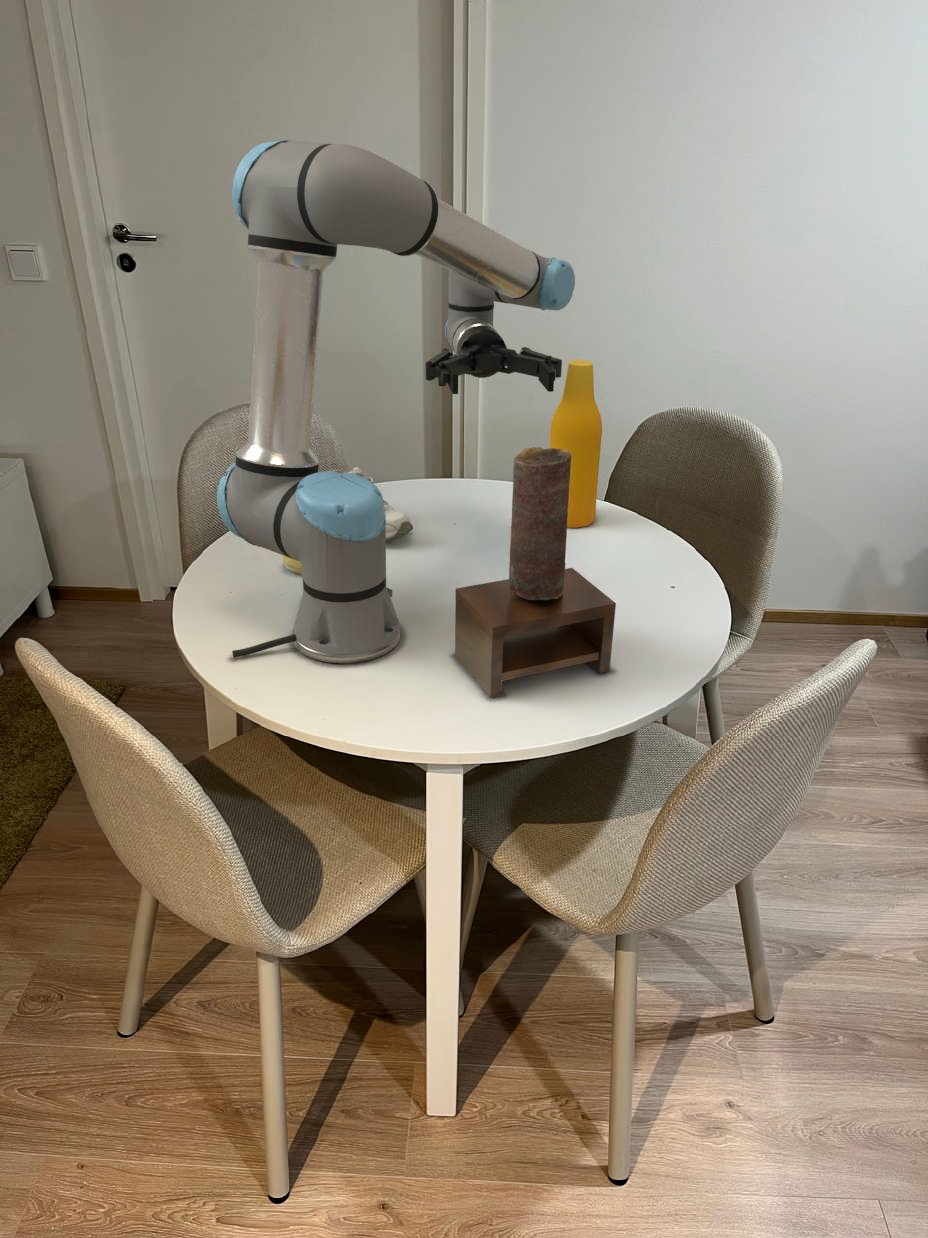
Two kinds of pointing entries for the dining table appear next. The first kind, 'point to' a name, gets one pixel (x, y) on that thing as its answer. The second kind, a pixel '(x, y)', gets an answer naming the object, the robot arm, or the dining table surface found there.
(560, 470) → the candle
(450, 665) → the dining table surface
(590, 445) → the beer bottle
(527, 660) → the shelf
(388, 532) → the athletic shoe
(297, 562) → the bread roll
